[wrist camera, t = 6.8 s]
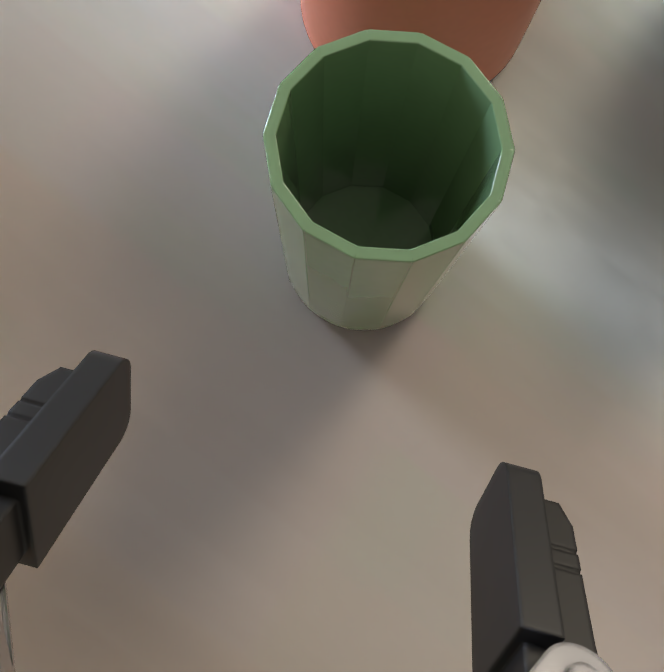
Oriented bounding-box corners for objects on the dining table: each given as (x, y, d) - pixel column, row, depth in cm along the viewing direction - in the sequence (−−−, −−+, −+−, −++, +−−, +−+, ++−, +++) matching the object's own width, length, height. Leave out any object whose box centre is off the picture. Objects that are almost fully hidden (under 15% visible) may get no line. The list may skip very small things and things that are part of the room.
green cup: (345, 362, 25) (362, 312, 15) (255, 235, 26) (215, 110, 16) (470, 275, 26) (564, 173, 16) (378, 154, 27) (413, -14, 17)
